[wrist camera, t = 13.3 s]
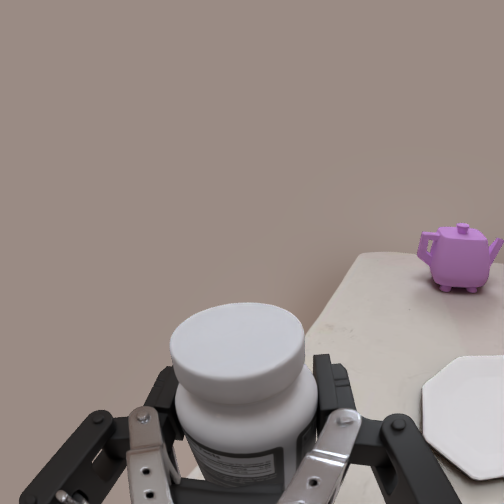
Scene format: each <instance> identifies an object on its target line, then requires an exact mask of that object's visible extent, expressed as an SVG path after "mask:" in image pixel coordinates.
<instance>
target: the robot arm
mask: <svg viewBox="0 0 504 504" xmlns="http://www.w3.org/2000/svg"><path fill="white" fill-rule="evenodd" d="M313 376H314V378H315V380H316V384H317V389H318V415H317V438H318V439H317V441H316V443H315V445H314V447H313V449H312V450H311V452H310V451H308V452H307V453H306V455H305V457H304V458H303V460H302V462H301V464H300V465H299V467H298V469H297V471H296V472H295V474H294V476H293V478H292V479H291V481H290V483H289V484H288V486H287V488H286V489H285V490H283V484H252V485H246V486H240V487H233V488H228V487H224V486H221V485H218V484H215V483H211V482H208V481H205V480H197V479H189V478H182V477H181V475H180V472H179V467H178V463H177V459H176V455H175V451H174V447H173V443H174V440H183V438H184V435H185V434H184V431H183V429H182V427H181V424H180V422H179V419H178V415H177V412H176V407H175V396H176V391H177V388H178V385H179V381H178V380H177V377H176V375H175V372H174V367H173V365H172V367H170V366H167V367H166V368H165V369H163V370H162V371H161V372H160V374H159V375H158V377H157V379H156V382H155V384H154V387H152V389H151V392H150V393H149V395H148V397H147V400H146V402H145V404H144V405H143V406H142V407H138V408H136V409H134V410H133V411H132V412H131V413H130V415H129V416H128V417H118V418H113V417H112V415H111V414H110V413H109V412H108V411H105V410H98V411H94V412H92V413H91V414H89V415H88V417H87V418H86V419H85V420H84V421H83V422H82V423H81V425H80V426H79V427H78V428H77V429H76V430H75V432H74V433H73V434H72V435H71V436H70V437H69V438H68V440H67V441H66V442H65V443H64V444H63V445H62V447H61V448H60V449H59V450H58V451H57V453H56V454H55V455H54V456H53V457H52V458H51V460H50V461H49V462H48V463H47V464H46V465H45V467H44V468H43V469H42V470H41V471H40V472H39V474H38V475H37V476H36V477H35V478H34V479H33V481H32V482H31V483H30V484H29V485H28V487H27V488H26V489H25V490H24V491H23V492H22V494H21V496H20V498H19V504H101V503H102V502H103V500H104V499H105V497H106V496H107V495H108V493H109V492H110V490H111V488H112V487H113V486H114V484H115V483H116V481H117V480H118V478H119V477H120V475H121V474H122V472H123V471H124V469H125V468H126V466H127V471H128V481H129V489H130V498H131V504H334V502H335V500H336V497H337V495H338V492H339V490H340V487H341V485H342V483H343V481H344V478H345V476H346V474H347V471H348V469H349V466H350V464H359V465H367V466H371V469H372V471H373V473H374V476H375V478H376V481H377V483H378V485H379V488H380V490H381V493H382V495H383V497H384V500H385V502H386V504H462V503H461V501H460V499H459V497H458V496H457V494H456V492H455V490H454V489H453V487H452V485H451V483H450V482H449V480H448V478H447V476H446V475H445V473H444V471H443V469H442V468H441V466H440V464H439V463H438V461H437V459H436V458H435V456H434V454H433V453H432V451H431V449H430V448H429V446H428V444H427V443H426V441H425V439H424V438H423V436H422V434H421V433H420V431H419V429H418V428H417V426H416V425H415V423H414V421H413V420H412V419H411V418H410V417H409V416H407V415H404V414H392V415H389V416H387V417H386V418H385V419H384V420H383V421H377V420H370V419H366V418H364V417H363V416H361V415H360V414H359V413H358V412H357V410H356V407H355V402H354V398H353V394H352V390H351V386H350V382H349V377H348V373H347V370H346V369H345V368H344V367H343V366H342V364H341V363H340V364H331V361H330V356H329V354H321V355H314V356H313ZM101 449H102V451H101V453H100V454H99V455H98V456H97V458H96V459H95V460H94V462H93V463H92V461H93V459H94V458H95V456H96V455H97V454H98V453H99V451H100V450H101Z"/></svg>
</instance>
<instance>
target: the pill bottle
mask: <svg viewBox="0 0 504 504" xmlns="http://www.w3.org/2000/svg"><path fill="white" fill-rule="evenodd" d="M170 353H171V357H172V363H173V367H174V372H175V375H176V377H177V380H178V381H179V385H178V388H177V391H176V396H175V407H176V412H177V415H178V419H179V422H180V424H181V427H182V429H183V431H184V434H185V436H186V438H187V441H188V443H189V445H190V448H191V450H192V452H193V454H194V457H195V459H196V461H197V463H198V465H199V468H200V470H201V472H202V474H203V476H204V478H205V480H206V481H208V482H211V483H215V484H218V485H221V486H224V487H228V488H233V487H240V486H246V485H252V484H283V490H285V489H286V488H287V486H288V484H289V483H290V481H291V479H292V478H293V476H294V474H295V472H296V471H297V469H298V467H299V465H300V464H301V462H302V460H303V458H304V457H305V455H306V453H307V452H308V451H310V452H311V450H312V449H313V447H314V445H315V442H316V428H317V415H318V389H317V384H316V380H315V378H314V376H313V374H312V372H311V371H310V369H309V368H308V367H307V366H306V365H305V364H304V362H305V336H304V330H303V327H302V325H301V323H300V321H299V320H298V319H297V318H296V317H295V316H294V315H293V314H291V313H290V312H289V311H287V310H285V309H282V308H280V307H277V306H273V305H269V304H263V303H247V302H245V303H232V304H226V305H221V306H216V307H212V308H209V309H206V310H204V311H201V312H199V313H196V314H194V315H193V316H191V317H189V318H188V319H186V320H185V321H184V322H182V323H181V324H180V325H179V326H178V327H177V328H176V330H175V331H174V333H173V334H172V336H171V339H170Z"/></svg>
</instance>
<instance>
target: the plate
mask: <svg viewBox="0 0 504 504" xmlns="http://www.w3.org/2000/svg"><path fill="white" fill-rule="evenodd" d="M422 417H423V437H424V439H425V441H426V443H428V444H429V445H430V446H431V447H432V448H434V449H435V450H436V451H437V452H439V453H440V454H441V455H442V456H443V457H445V458H446V459H447V460H448V461H450V462H451V463H452V464H453V465H454V466H456V467H457V468H458V469H459V470H461V471H462V472H463V473H464V474H466V475H467V476H468V477H469V478H471V479H473V480H477V481H484V480H490V479H497V478H502V477H504V355H492V356H461V357H458V358H455V359H454V360H453V361H452V362H451V363H449V364H448V365H447V366H446V367H445V368H443V369H442V370H441V371H440V372H438V373H437V374H436V375H435V376H433V377H432V378H431V379H429V380H428V381H427V382H425V383H424V385H423V387H422Z"/></svg>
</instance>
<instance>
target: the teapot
mask: <svg viewBox="0 0 504 504" xmlns="http://www.w3.org/2000/svg"><path fill="white" fill-rule="evenodd" d="M428 240H433V243H432V246H431V251H430V253H429V252H428V251H427V246H428ZM503 243H504V240H502V239H499V238H496V240H495V241H494V242H493V243H492V244H491V245H490V246H488V241H487V239H486V237H485V236H484V235H483V234H482V233H481V232H480V231H479V230H477V229H472V228H469V225H468V224H465V223H458V224H457V227H439V228H438V230H437V232H436V233H433V232H422V234H421V238H420V243H419V247H418V252H417V256H418V257H419V258H420V259H421V260H423V261H424V262H425V263H426V264H428V265H429V266H430V270H431V273H432V276H433V279H434V281H435V282H436V283H437V284H440V285H441V286H440V290H442V291H445V292H448V291H450V290H451V287H452V286H453V287H466V290H467V291H468V292H471V293H475V292H477V289H476V287H480V286H483V285H484V284H485V283H486V281H487V279H488V277H489V270H490V266H491V264H492V263H493V261H494V259H495V257H496V256H497V254H498V252H499V250H500V248H501V246H502V244H503Z"/></svg>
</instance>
